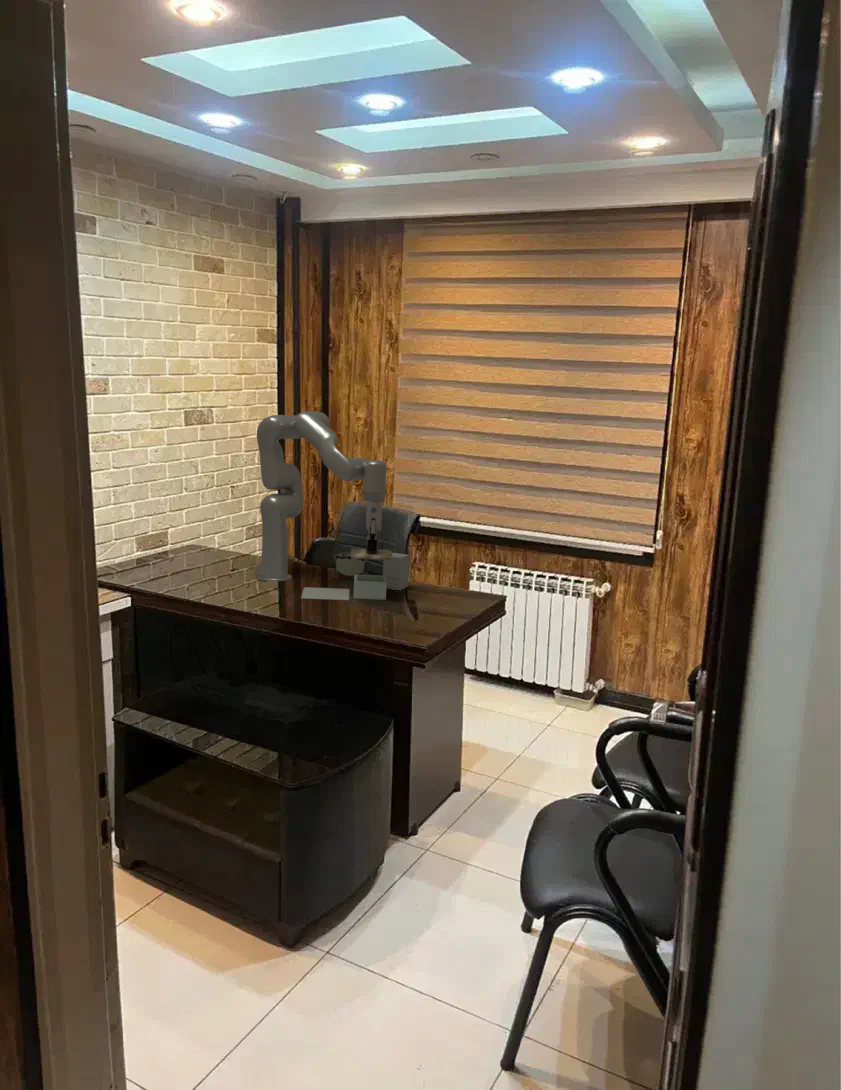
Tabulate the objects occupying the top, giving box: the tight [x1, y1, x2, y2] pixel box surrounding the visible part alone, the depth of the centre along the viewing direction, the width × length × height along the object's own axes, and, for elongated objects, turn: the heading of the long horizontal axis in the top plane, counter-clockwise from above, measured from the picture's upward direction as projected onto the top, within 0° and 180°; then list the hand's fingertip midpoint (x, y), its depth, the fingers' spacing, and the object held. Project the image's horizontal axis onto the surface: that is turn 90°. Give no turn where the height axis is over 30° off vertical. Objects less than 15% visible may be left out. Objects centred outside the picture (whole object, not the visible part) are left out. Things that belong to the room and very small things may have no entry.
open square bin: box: [352, 574, 387, 601], centre depth 283 cm, size 11×11×6 cm
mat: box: [300, 586, 350, 601], centre depth 282 cm, size 16×16×1 cm
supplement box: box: [382, 552, 410, 591], centre depth 297 cm, size 7×7×13 cm
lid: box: [350, 534, 393, 561], centre depth 281 cm, size 14×14×7 cm
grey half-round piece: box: [333, 552, 368, 581], centre depth 307 cm, size 12×6×10 cm, turn 84°
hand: (371, 549), depth 281 cm, fingers closed on lid, 4 cm apart
